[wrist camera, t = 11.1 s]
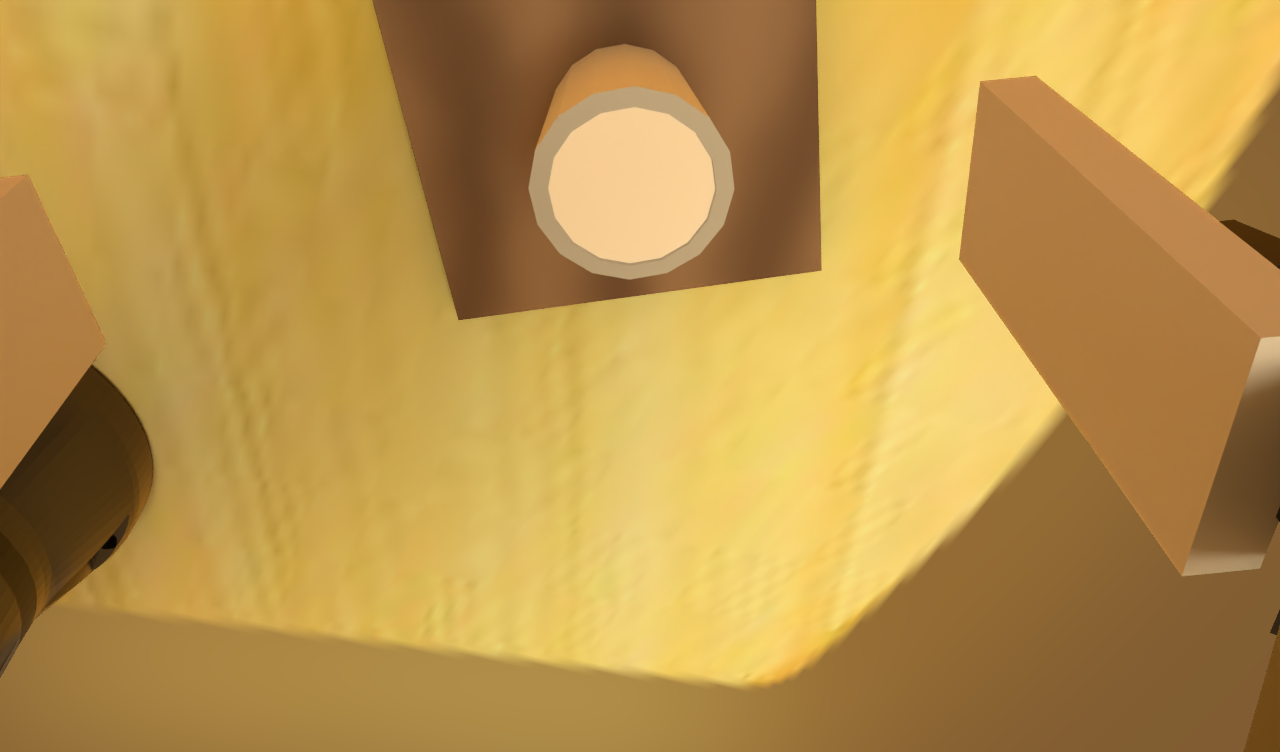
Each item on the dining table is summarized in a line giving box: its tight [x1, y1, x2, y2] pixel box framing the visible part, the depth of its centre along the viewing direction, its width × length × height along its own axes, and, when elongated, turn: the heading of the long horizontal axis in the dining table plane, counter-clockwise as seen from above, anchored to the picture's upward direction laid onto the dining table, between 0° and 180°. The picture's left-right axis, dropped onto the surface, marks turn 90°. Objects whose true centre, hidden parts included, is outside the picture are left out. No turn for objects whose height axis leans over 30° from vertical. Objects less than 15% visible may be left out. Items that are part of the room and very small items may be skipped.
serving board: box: [373, 0, 821, 320], centre depth 39 cm, size 16×16×2 cm
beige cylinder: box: [528, 44, 734, 280], centre depth 35 cm, size 7×7×7 cm
